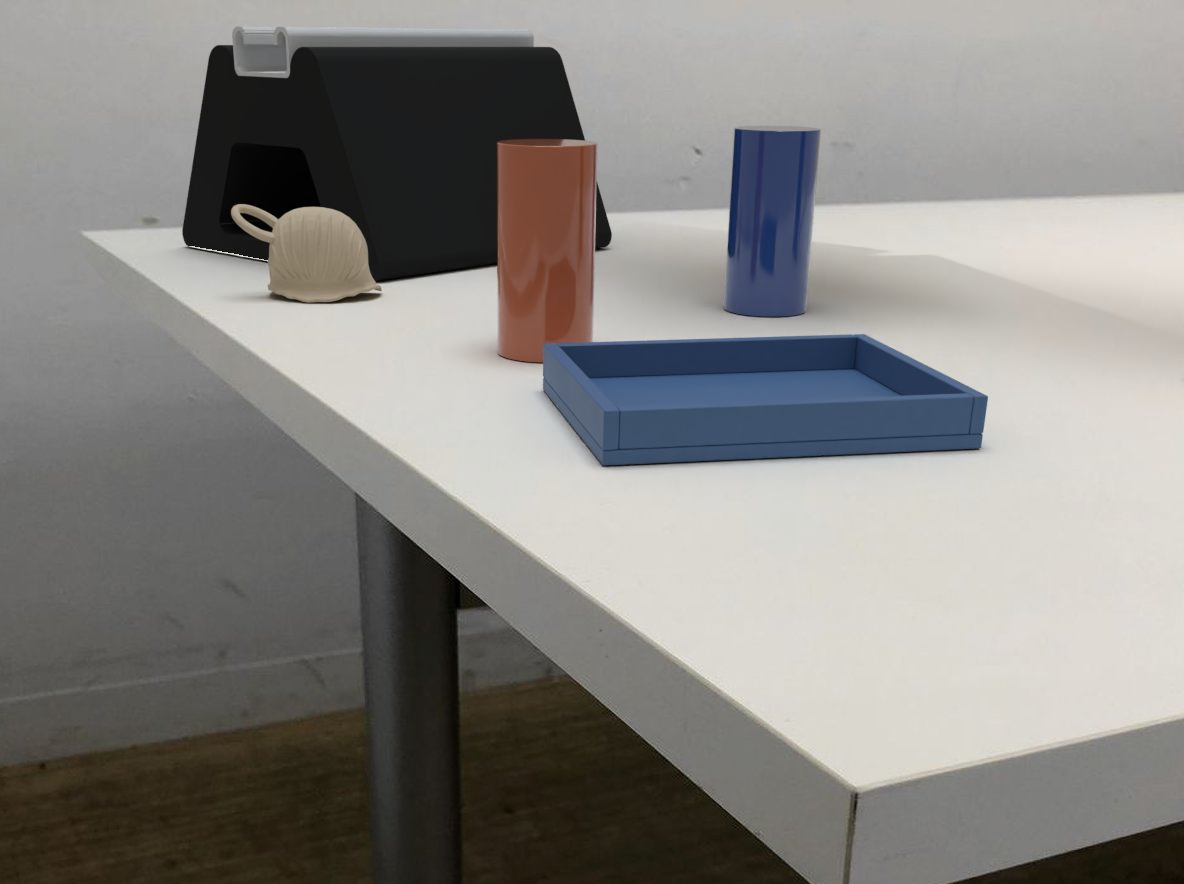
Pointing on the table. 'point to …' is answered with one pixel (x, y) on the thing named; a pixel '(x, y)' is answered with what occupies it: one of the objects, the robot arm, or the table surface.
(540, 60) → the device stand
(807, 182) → the blue tall cylinder
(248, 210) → the decorative ornament
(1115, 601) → the table surface
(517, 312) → the cylinder
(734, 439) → the blue tray
